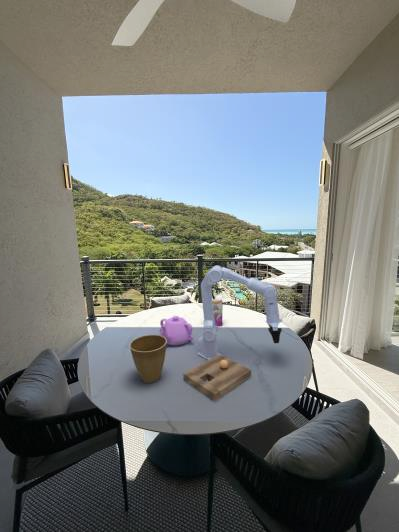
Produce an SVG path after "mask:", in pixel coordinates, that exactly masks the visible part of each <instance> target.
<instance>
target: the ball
mask: <svg viewBox="0 0 399 532" xmlns="http://www.w3.org/2000/svg"><path fill="white" fill-rule="evenodd" d="M220 366H221V368H223V369H225V368H227V367H228V362H227V361H226V360H222V361H221V362H220Z"/></svg>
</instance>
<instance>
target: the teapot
mask: <svg viewBox="0 0 399 532" xmlns="http://www.w3.org/2000/svg"><path fill="white" fill-rule="evenodd" d="M159 323H160V329H159V333H160V336H163V337H165V338H166V340H167V344H166V345H169V346H183V345H184V344H187V343H188V342H189V341H194V335H193V326H192V325H191V323H188V322H187V320H186V319H185V318H183V317H179V316H178V315H173V316H172V317H169V318H162V319H161V320H160V322H159Z"/></svg>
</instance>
